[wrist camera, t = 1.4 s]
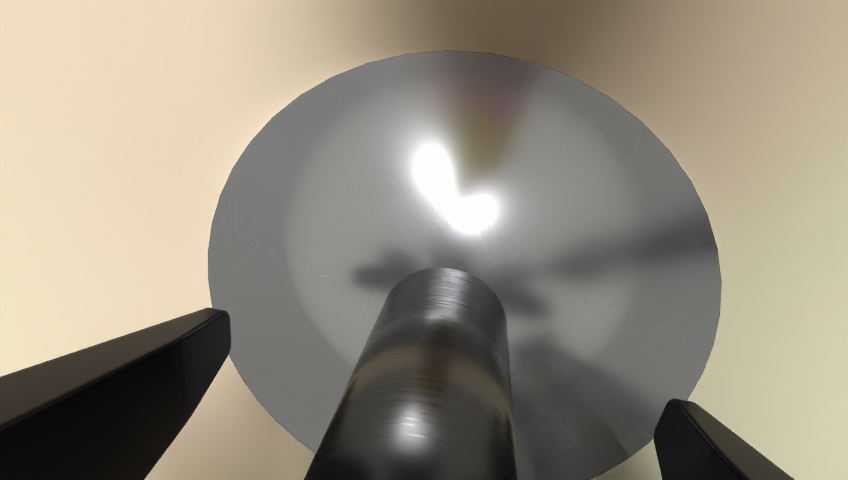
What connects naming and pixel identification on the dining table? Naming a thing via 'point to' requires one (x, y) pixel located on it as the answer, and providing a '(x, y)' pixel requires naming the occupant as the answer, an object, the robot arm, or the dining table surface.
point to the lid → (463, 273)
